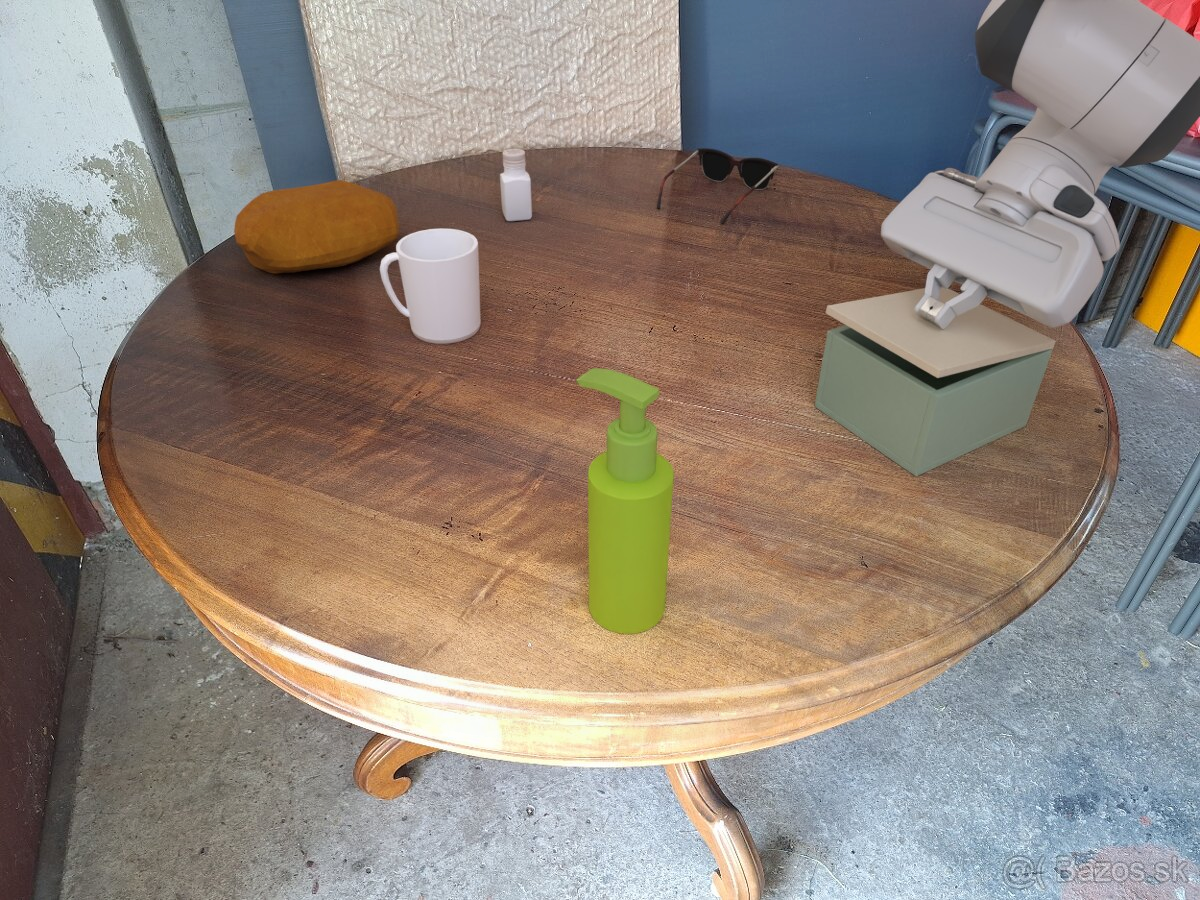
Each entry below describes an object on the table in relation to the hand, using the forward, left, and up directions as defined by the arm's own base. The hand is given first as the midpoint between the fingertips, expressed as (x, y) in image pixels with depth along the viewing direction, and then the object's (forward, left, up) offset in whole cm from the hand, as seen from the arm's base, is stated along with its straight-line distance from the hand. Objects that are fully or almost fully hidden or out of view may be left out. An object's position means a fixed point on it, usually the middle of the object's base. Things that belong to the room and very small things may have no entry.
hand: (928, 320), depth 82 cm
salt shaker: (+59, -34, -12) cm, 69 cm away
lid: (-1, -1, -2) cm, 2 cm away
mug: (+53, 0, -12) cm, 54 cm away
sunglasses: (+34, -51, -12) cm, 62 cm away
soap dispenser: (+18, +33, -12) cm, 39 cm away
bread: (+76, -11, -12) cm, 77 cm away
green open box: (-1, -2, -11) cm, 12 cm away
